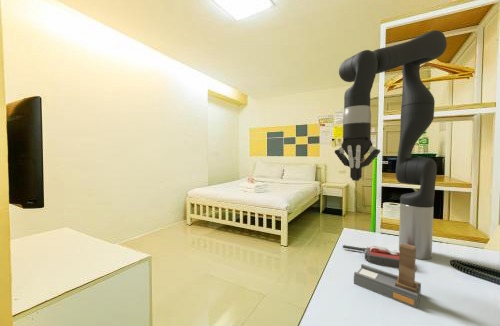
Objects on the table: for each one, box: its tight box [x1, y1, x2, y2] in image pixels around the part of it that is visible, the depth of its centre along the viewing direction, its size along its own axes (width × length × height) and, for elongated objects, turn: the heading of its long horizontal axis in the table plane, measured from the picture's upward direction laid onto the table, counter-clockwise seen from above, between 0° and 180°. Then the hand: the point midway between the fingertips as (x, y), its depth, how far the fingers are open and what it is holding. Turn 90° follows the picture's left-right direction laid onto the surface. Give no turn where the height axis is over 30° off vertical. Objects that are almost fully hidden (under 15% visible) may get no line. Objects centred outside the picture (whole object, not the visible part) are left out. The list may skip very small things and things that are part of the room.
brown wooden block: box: [395, 243, 419, 293], centre depth 53 cm, size 4×4×10 cm
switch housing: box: [353, 263, 422, 309], centre depth 56 cm, size 7×14×3 cm, turn 46°
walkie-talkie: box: [342, 244, 400, 269], centre depth 73 cm, size 9×4×20 cm
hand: (355, 180), depth 67 cm, fingers closed
